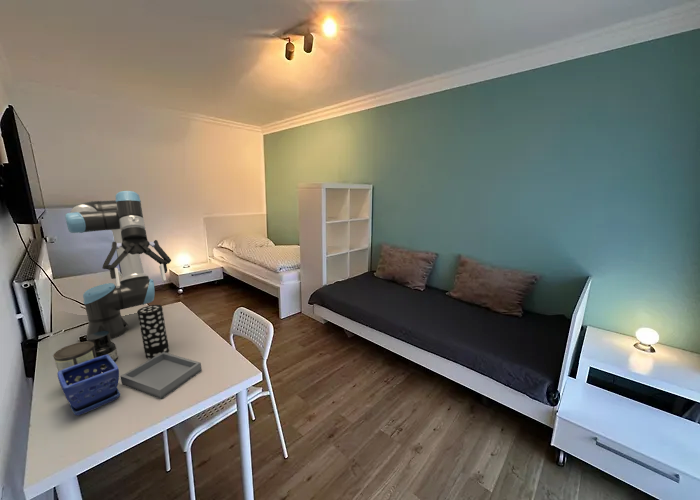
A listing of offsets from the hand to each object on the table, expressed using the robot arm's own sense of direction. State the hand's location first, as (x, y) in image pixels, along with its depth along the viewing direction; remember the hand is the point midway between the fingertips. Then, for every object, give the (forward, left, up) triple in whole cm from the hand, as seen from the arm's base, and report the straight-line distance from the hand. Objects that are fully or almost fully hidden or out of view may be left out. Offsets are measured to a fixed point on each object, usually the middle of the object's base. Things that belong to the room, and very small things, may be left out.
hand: (142, 284), depth 104 cm
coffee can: (-15, -16, -34) cm, 41 cm away
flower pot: (-2, -19, -34) cm, 40 cm away
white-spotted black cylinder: (-9, +7, -34) cm, 36 cm away
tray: (+8, -3, -34) cm, 35 cm away
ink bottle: (-23, -5, -34) cm, 42 cm away
